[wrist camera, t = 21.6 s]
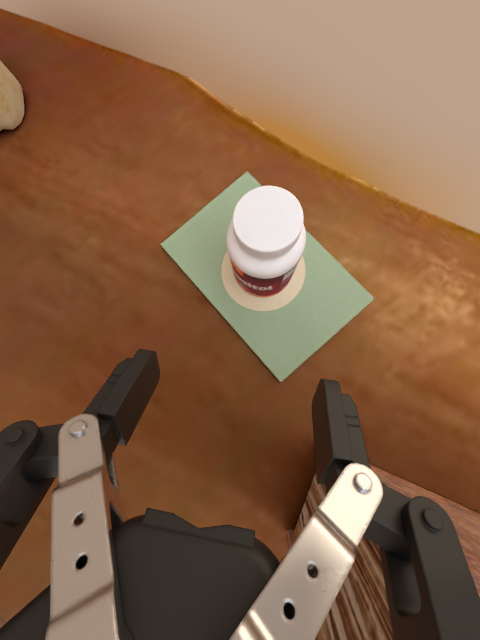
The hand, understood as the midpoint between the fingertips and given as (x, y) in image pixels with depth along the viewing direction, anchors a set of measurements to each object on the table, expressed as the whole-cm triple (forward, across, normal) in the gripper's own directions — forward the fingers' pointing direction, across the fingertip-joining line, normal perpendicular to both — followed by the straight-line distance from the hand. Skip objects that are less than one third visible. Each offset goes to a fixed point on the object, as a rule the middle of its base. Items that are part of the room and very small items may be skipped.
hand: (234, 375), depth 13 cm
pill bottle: (+17, 0, +3) cm, 18 cm away
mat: (+18, 0, +3) cm, 18 cm away
